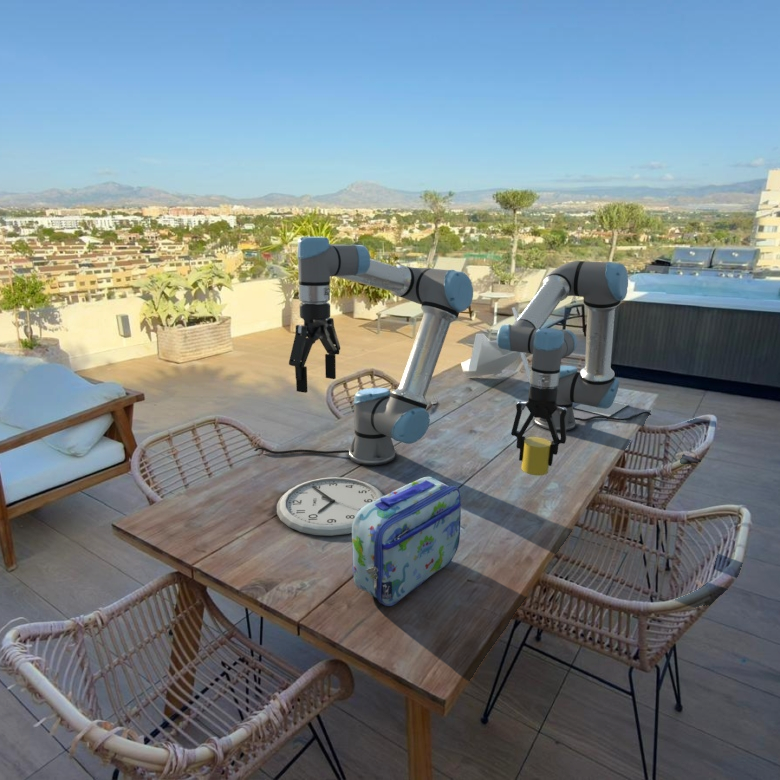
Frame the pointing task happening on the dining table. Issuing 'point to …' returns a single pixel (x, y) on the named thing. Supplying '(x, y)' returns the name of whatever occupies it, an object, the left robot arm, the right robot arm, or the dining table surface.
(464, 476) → the dining table surface
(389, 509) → the lunch box
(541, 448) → the canister
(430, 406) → the fork
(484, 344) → the white plastic object
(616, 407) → the grey flat slab
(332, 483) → the wall clock
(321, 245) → the left robot arm
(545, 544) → the dining table surface
